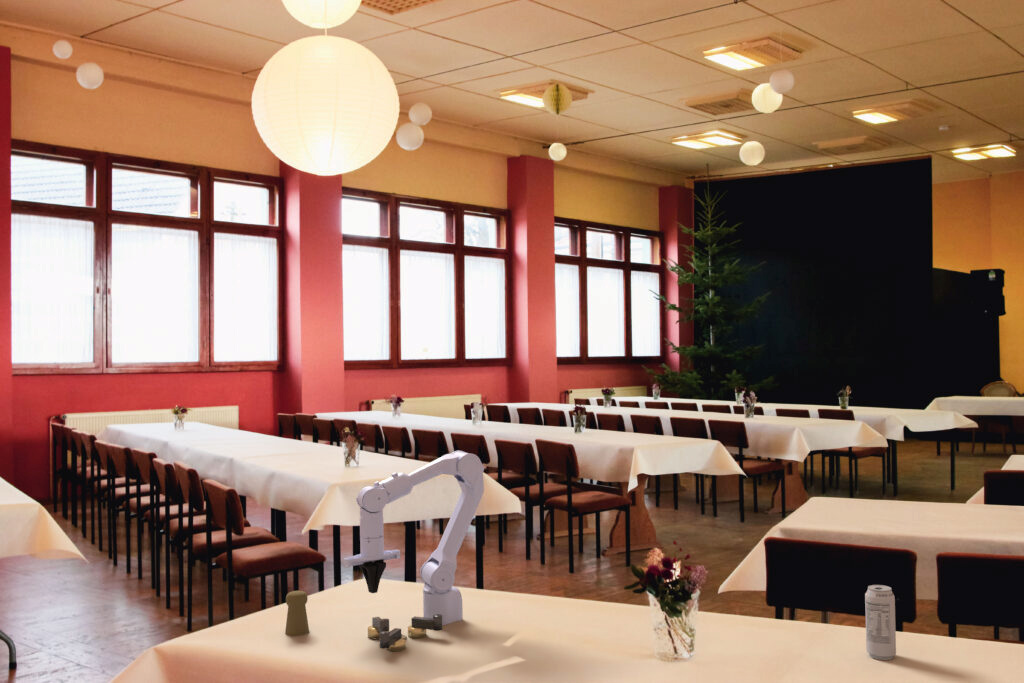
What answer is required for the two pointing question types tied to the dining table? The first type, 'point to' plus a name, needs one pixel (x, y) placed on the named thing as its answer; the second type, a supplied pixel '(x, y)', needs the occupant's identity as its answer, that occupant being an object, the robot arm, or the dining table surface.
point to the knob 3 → (424, 625)
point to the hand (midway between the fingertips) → (372, 592)
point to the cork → (296, 614)
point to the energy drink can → (880, 622)
